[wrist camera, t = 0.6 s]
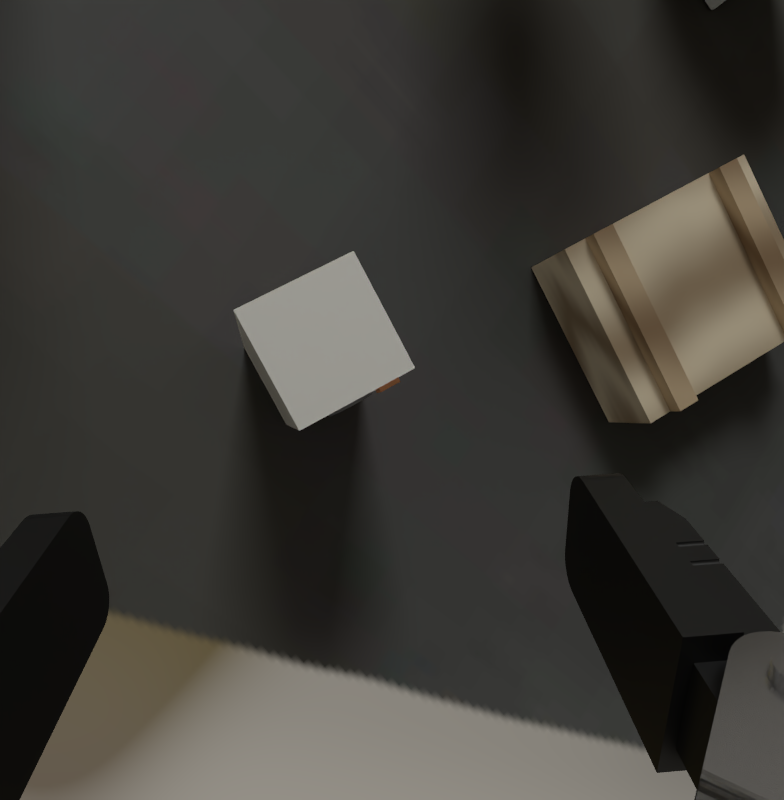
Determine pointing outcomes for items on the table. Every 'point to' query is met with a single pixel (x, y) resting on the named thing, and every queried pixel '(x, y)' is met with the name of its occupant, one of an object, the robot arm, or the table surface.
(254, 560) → the table surface
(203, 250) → the table surface
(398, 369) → the tall grey box
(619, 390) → the brown wooden ridged block
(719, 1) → the small box
